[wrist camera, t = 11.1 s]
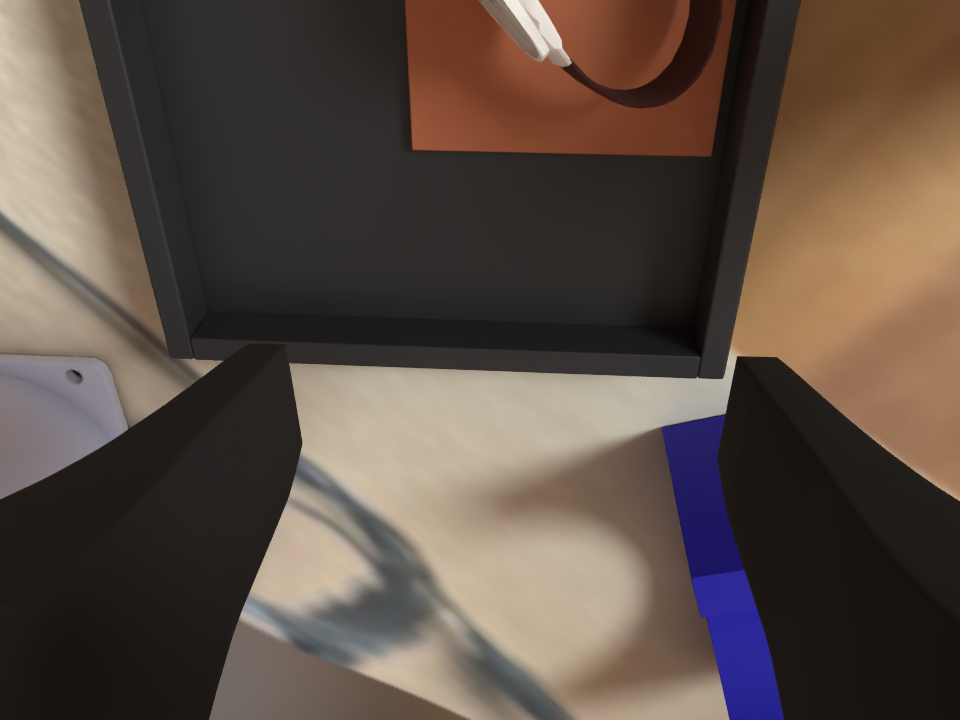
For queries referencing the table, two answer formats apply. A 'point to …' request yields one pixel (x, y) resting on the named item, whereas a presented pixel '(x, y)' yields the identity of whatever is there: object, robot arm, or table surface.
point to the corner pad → (557, 80)
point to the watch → (538, 38)
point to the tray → (416, 201)
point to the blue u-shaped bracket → (720, 572)
